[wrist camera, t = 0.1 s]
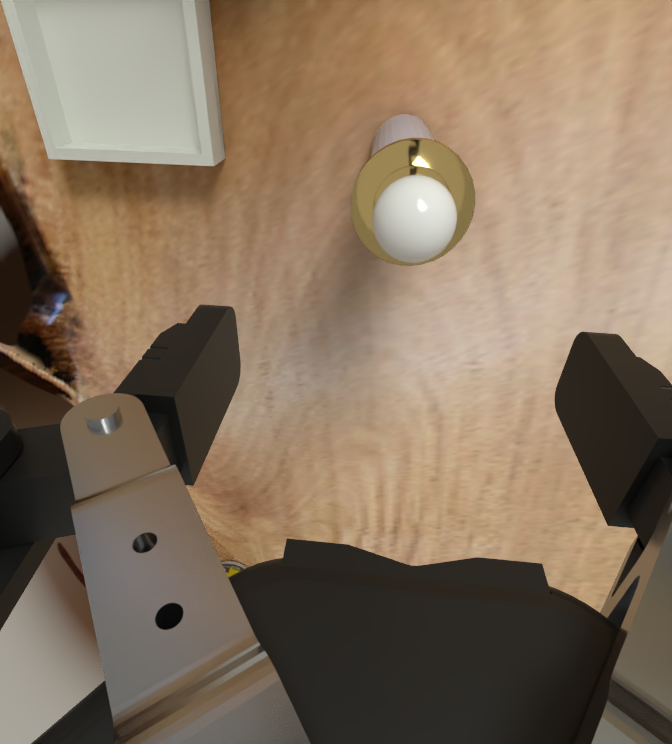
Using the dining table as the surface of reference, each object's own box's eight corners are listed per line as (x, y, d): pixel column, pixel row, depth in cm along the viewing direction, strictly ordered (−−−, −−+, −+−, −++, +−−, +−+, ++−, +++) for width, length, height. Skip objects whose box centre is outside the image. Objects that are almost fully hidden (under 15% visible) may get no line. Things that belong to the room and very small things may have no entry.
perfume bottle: (353, 172, 36) (326, 273, 20) (380, 90, 33) (375, 132, 17) (421, 198, 37) (449, 316, 21) (455, 120, 34) (519, 188, 18)
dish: (12, -61, 30) (-21, -70, 28) (203, -58, 30) (186, -68, 27) (71, 151, 37) (48, 158, 35) (225, 158, 37) (213, 166, 34)
